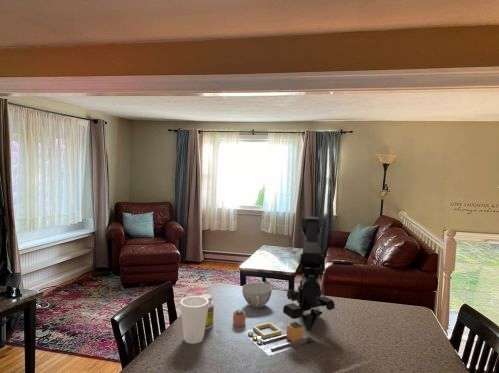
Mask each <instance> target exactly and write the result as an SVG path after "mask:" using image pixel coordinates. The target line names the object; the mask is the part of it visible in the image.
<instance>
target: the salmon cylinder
mask: <svg viewBox="0 0 499 373" xmlns="http://www.w3.org/2000/svg"><path fill="white" fill-rule="evenodd" d="M232 314H233V315H232V325H233V327H236V328H243V327H246V326H245V325H246V312H245V311H244V310H243V309H237V310H235V311H233V313H232Z"/></svg>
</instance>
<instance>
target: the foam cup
mask: <svg viewBox="0 0 499 373" xmlns="http://www.w3.org/2000/svg"><path fill="white" fill-rule="evenodd" d="M179 302H180V303H179V309H180V314H181V323H182V331H183V332H182V334H183V338H184V339H183V340H184V342H185V343H187V344H192V345H193V344H199V343H201V342H203V340H204V336H205V331H206V329H205V325H206V318H207V312H208V308H209V301H208V299H207V298H205V297H201V296H200V295H192V296H186V297H184V298H182V299H180V301H179Z"/></svg>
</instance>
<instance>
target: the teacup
mask: <svg viewBox="0 0 499 373" xmlns="http://www.w3.org/2000/svg"><path fill="white" fill-rule="evenodd" d="M241 288H242V290H241V292H242V295H243V296H242V297H243V298H244V300H245V302H246V303H247V304H248V305H249V306H250V307H251V308H253V309H260V308H263V307H264V306H265V305H267V303H268V302H269V300H270V299H271V296H272V292H273V287H272V285H270V284H267V283H266V282H259V281H258V282H249V283H246V284H243V285H242V287H241Z"/></svg>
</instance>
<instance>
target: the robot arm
mask: <svg viewBox="0 0 499 373" xmlns="http://www.w3.org/2000/svg"><path fill="white" fill-rule="evenodd" d="M300 228H301V230H302V232H301V233H302V234H303V236H304V237H305V245H304V246H303V247H302V253H300V259H299V260H300V261H299V262H300V264H299V274H302V278H301V280H300V281H299V285H298V286H297V290H294V289H287V292H286V296H287V299H288V300H291V302H293V303H289V304H285V305H284V306H283V308H282V310H283V311H282V313H283V314H285V315H286V316H287V317H289V318H290V319H294V320H295V319H296V320H297V319H299V318H302V320H303V322H304V323H303V324H304V326H305V330H306V332H311V330H312V328H313V327H314V325H315V323H316V322H318V319H319V317H320V316H321V315H323V311H321V310H320V308H322V307H325V308H326V309H327V310H328V311H331V310H334V309H335V302H334V300H333V299H331V298H329V297H327V296H326V295H324V296H323V295H322V290H321V282H320V276H324V272H325V271H326V261H325V260H326V258H325V257H324V254H322V248H321V247H320V246H319V243H318V236H319V234H320V232H321V230H322V229H323V219H322V218H321V219H320V217H319V216H304V217H302V218H300ZM294 301H296V302H297V303H298V305H297V304H295V302H294Z"/></svg>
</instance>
